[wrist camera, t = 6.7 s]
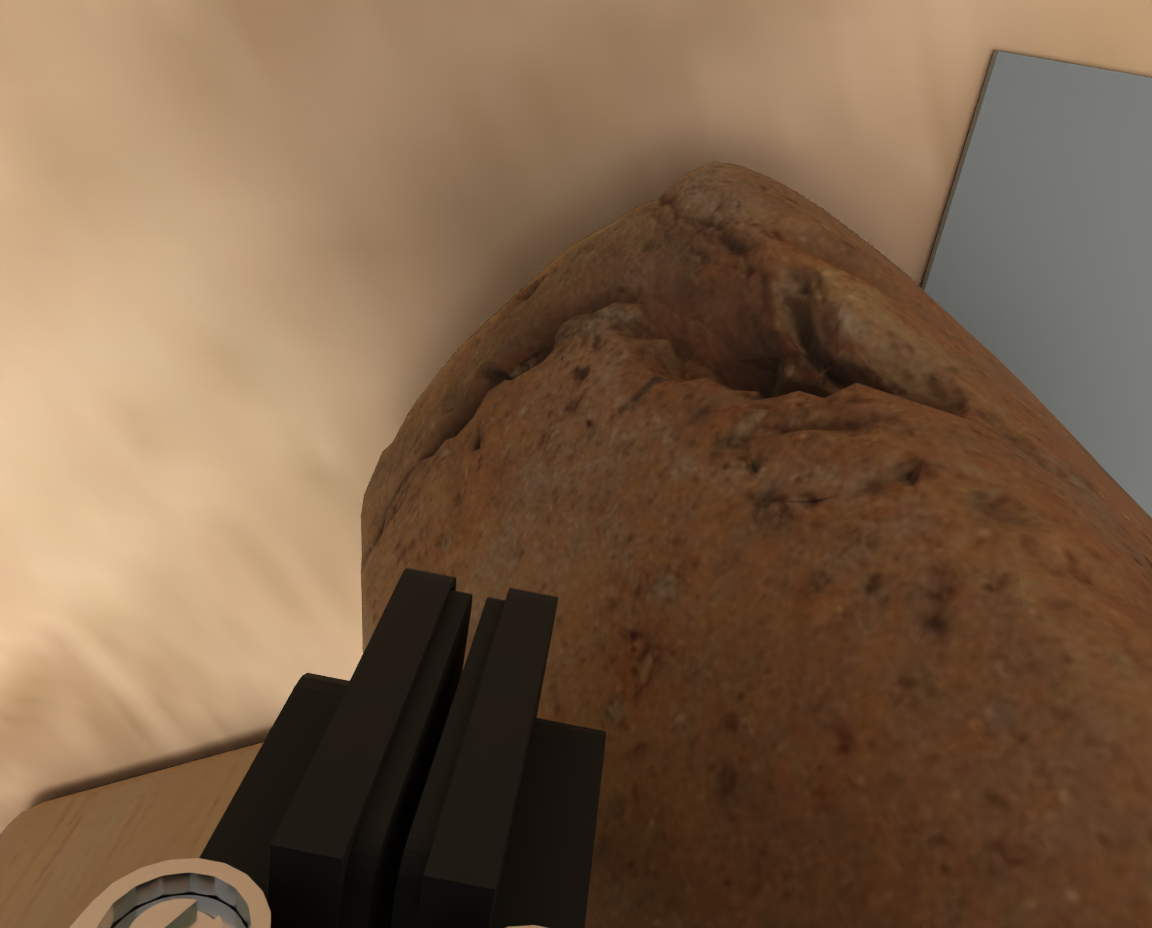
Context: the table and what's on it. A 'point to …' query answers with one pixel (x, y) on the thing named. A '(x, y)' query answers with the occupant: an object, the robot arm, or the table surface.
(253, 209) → the table surface
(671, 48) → the table surface
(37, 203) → the table surface
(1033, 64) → the mat
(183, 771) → the wooden block
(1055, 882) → the brown rounded lump
